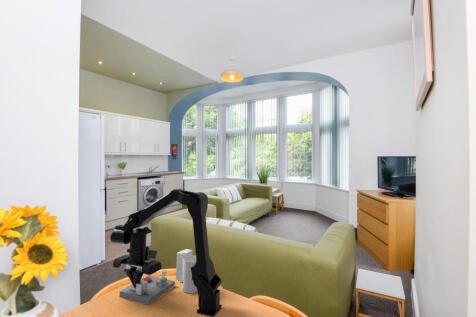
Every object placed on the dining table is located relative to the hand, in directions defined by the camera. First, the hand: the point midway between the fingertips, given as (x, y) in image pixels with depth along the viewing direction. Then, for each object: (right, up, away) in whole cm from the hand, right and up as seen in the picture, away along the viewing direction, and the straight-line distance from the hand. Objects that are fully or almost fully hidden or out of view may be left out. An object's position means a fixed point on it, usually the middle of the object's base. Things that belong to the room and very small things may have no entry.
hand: (136, 287), depth 82 cm
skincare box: (+15, -5, +14) cm, 21 cm away
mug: (+19, -5, +8) cm, 21 cm away
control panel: (+3, -4, +4) cm, 6 cm away
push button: (0, -2, +8) cm, 9 cm away
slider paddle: (+3, -1, -1) cm, 3 cm away
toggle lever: (+8, -1, +5) cm, 9 cm away
